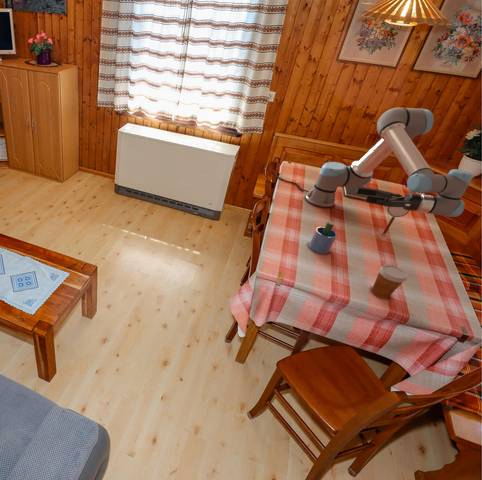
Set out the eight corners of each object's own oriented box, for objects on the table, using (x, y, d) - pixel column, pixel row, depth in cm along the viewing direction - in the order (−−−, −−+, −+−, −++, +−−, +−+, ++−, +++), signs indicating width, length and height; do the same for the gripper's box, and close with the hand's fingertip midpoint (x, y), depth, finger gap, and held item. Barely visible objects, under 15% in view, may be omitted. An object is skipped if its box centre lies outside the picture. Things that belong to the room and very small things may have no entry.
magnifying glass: (392, 236, 194) (412, 203, 182) (393, 238, 192) (413, 204, 181) (373, 231, 197) (392, 198, 185) (373, 233, 195) (392, 200, 184)
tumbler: (305, 247, 182) (313, 231, 176) (313, 240, 187) (320, 224, 182) (324, 256, 177) (332, 239, 171) (331, 248, 182) (340, 232, 176)
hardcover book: (387, 205, 222) (389, 201, 220) (344, 196, 229) (346, 192, 227) (383, 193, 234) (385, 190, 233) (342, 185, 241) (344, 182, 240)
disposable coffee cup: (389, 288, 160) (404, 267, 153) (396, 303, 152) (411, 281, 145) (365, 283, 162) (378, 261, 155) (370, 297, 154) (384, 275, 148)
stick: (314, 246, 182) (326, 222, 173) (317, 244, 183) (328, 220, 175) (321, 249, 180) (332, 225, 172) (323, 247, 182) (335, 223, 173)
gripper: (426, 220, 152) (367, 210, 157) (402, 202, 174) (351, 195, 179) (434, 202, 149) (374, 193, 154) (409, 187, 170) (357, 179, 176)
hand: (361, 194), depth 166 cm, fingers open, 13 cm apart
